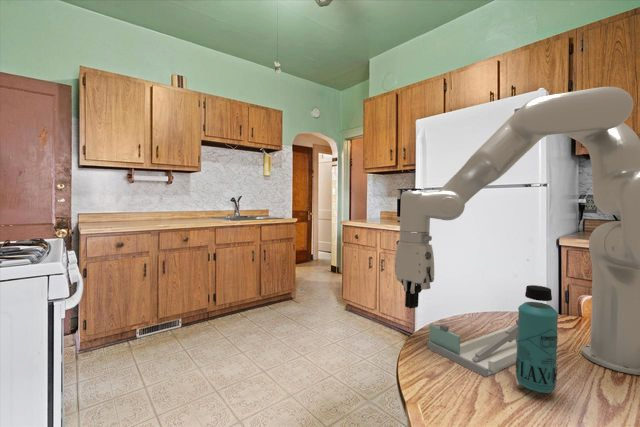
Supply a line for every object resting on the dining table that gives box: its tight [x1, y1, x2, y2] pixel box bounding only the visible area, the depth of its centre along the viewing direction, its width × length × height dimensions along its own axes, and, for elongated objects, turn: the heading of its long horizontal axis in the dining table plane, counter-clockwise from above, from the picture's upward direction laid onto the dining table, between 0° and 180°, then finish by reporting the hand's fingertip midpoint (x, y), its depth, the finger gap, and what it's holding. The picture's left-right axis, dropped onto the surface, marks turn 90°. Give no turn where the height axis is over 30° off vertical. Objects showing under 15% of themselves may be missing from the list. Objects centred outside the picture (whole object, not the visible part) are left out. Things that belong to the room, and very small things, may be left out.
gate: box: [428, 323, 461, 356], centre depth 75 cm, size 8×1×6 cm, turn 30°
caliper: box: [472, 319, 518, 362], centre depth 74 cm, size 20×1×6 cm, turn 121°
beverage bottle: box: [515, 284, 559, 394], centre depth 59 cm, size 6×7×20 cm
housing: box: [426, 325, 517, 378], centre depth 78 cm, size 15×26×2 cm, turn 120°
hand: (411, 306), depth 83 cm, fingers closed
